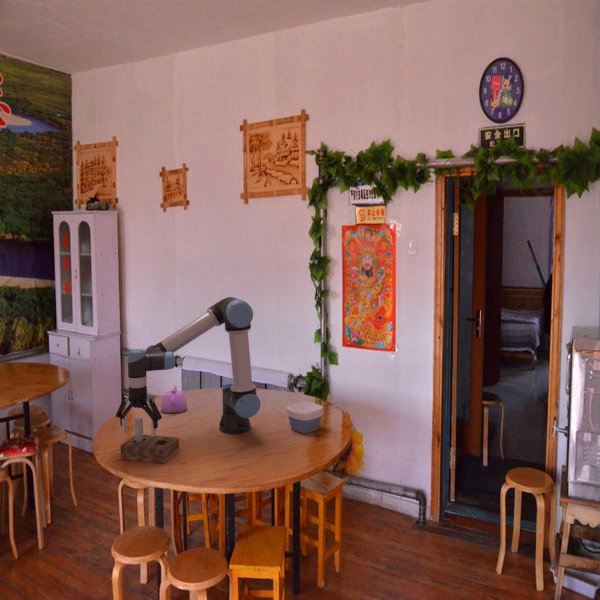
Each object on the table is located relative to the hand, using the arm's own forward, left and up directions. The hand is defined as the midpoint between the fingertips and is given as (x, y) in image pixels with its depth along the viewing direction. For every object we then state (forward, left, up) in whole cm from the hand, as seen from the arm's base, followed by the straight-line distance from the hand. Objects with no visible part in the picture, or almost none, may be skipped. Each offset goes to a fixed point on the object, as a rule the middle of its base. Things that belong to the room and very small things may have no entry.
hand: (139, 434), depth 254 cm
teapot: (+12, -60, -9) cm, 62 cm away
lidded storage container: (-62, -47, -9) cm, 78 cm away
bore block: (-5, 0, -9) cm, 10 cm away
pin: (0, 0, -7) cm, 7 cm away
